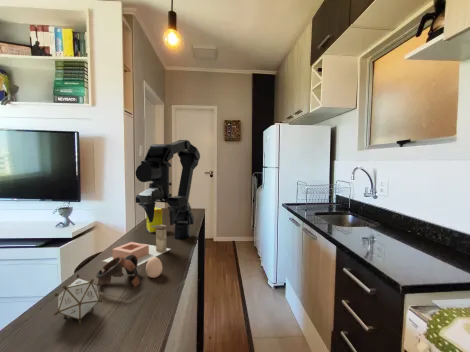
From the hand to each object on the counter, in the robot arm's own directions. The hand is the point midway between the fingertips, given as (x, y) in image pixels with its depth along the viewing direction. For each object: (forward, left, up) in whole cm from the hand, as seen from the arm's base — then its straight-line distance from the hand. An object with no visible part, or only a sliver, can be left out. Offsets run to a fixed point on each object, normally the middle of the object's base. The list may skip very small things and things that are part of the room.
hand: (161, 223), depth 87 cm
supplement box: (-19, -20, -10) cm, 29 cm away
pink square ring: (+8, -6, -10) cm, 14 cm away
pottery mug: (+22, +6, -11) cm, 25 cm away
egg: (+16, +11, -10) cm, 22 cm away
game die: (+36, +9, -10) cm, 39 cm away
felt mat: (+6, -4, -10) cm, 13 cm away
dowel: (0, 0, -10) cm, 10 cm away
